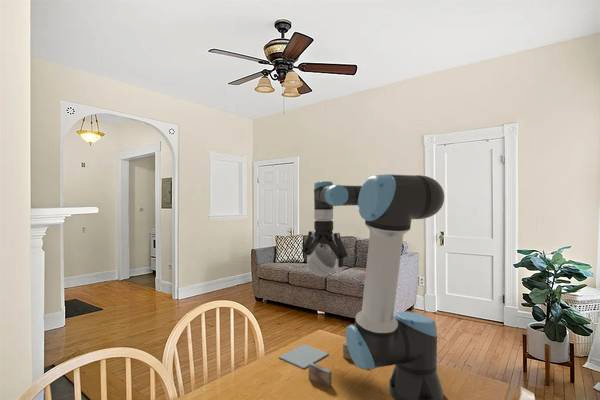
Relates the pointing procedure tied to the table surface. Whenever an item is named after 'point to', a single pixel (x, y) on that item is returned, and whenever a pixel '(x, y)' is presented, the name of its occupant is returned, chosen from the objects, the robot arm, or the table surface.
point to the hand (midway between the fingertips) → (323, 273)
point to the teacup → (322, 263)
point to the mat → (303, 356)
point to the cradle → (325, 370)
